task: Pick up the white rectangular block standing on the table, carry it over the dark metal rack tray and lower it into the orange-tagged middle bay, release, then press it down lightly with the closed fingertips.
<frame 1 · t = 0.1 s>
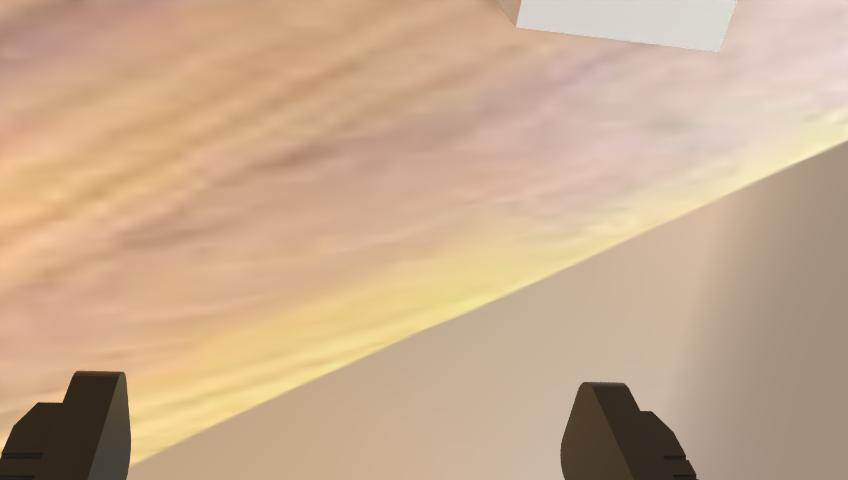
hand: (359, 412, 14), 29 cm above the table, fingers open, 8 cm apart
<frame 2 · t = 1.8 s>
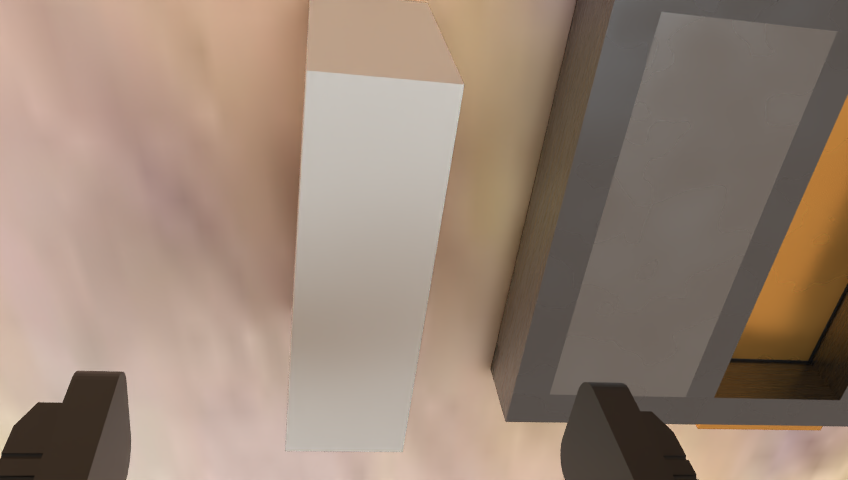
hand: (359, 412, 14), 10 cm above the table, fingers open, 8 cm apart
white rectangular block: (352, 171, 22), on the table
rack: (808, 204, 24), on the table
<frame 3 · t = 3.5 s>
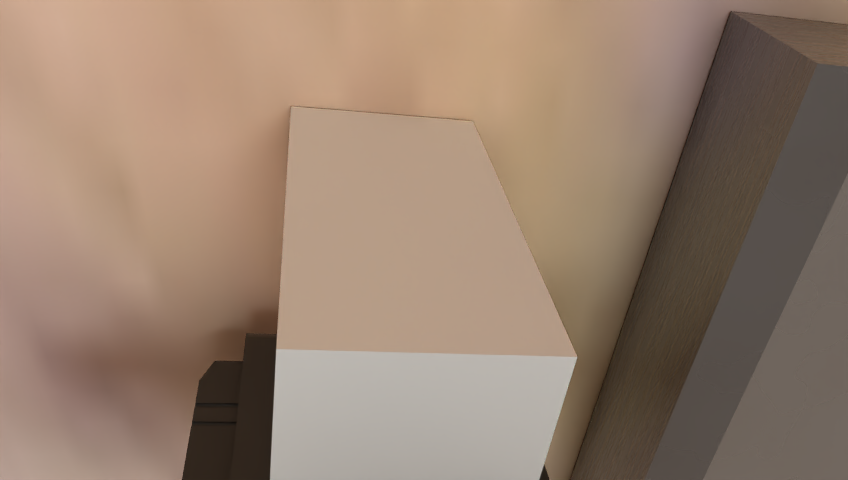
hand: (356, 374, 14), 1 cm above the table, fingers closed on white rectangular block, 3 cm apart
white rectangular block: (355, 349, 15), on the table, touching gripper
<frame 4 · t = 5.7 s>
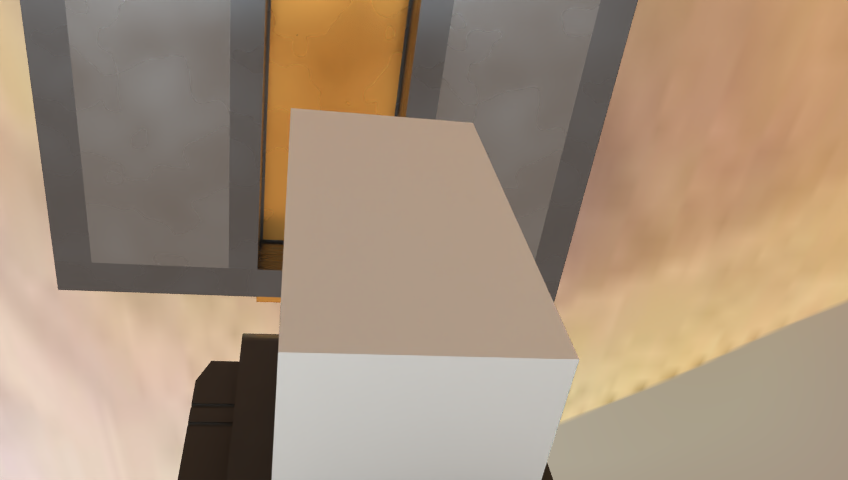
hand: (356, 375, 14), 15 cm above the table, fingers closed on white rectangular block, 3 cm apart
white rectangular block: (355, 351, 15), point 14 cm above the table, touching gripper
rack: (332, 90, 27), on the table
when the fingers open (4 cm above the table, at t = 7.9 s): white rectangular block drops 2 cm, resting on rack.
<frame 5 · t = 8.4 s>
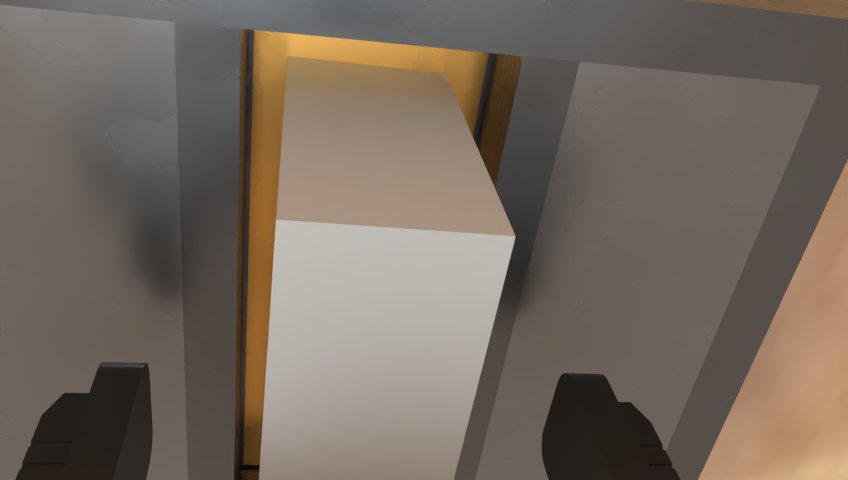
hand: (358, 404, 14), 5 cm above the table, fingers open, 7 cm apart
white rectangular block: (341, 281, 17), point 1 cm above the table, touching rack
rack: (347, 265, 18), on the table
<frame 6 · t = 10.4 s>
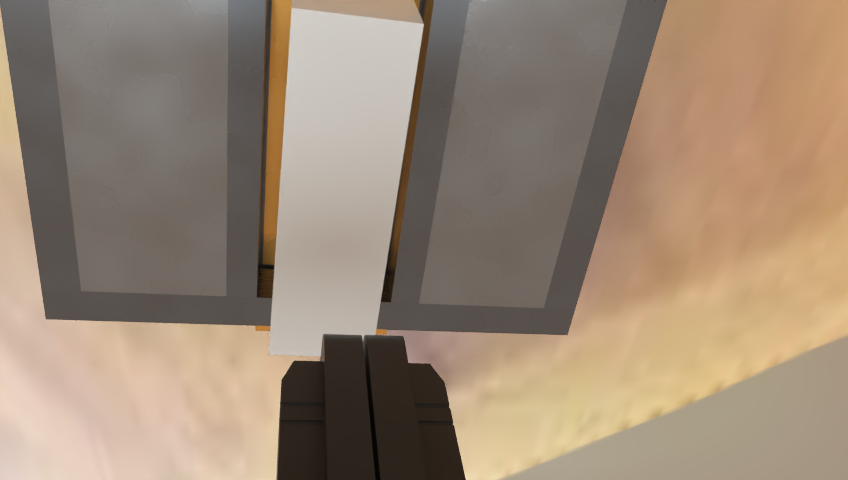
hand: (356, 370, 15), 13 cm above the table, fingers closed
white rectangular block: (331, 117, 25), point 1 cm above the table, touching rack
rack: (336, 109, 25), on the table
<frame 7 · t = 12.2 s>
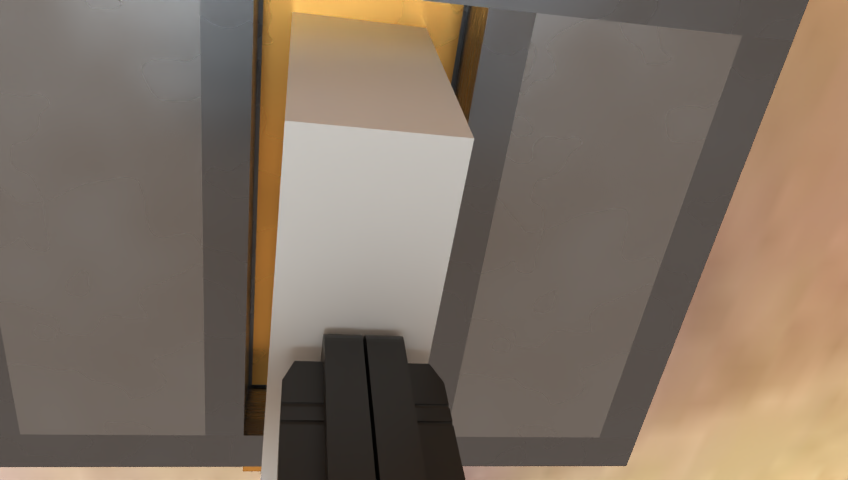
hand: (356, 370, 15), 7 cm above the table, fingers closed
white rectangular block: (338, 214, 20), point 1 cm above the table, touching gripper, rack
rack: (344, 201, 20), on the table
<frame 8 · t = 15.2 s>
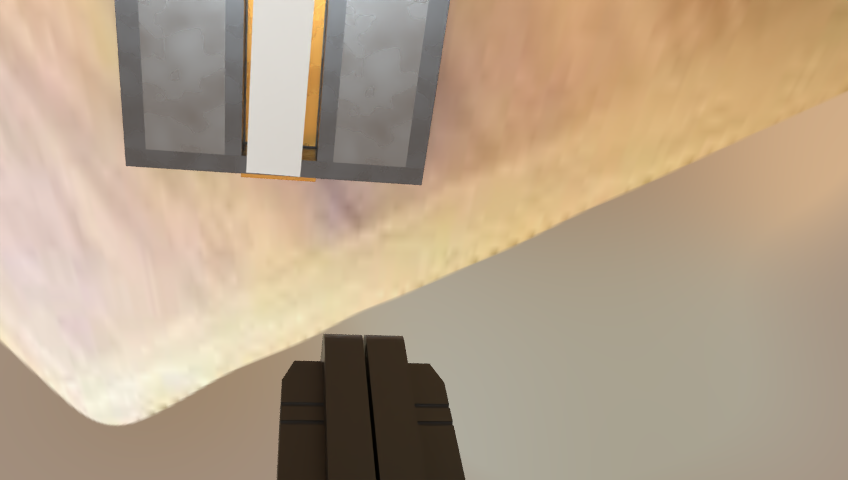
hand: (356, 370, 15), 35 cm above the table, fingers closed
white rectangular block: (281, 54, 46), point 1 cm above the table, touching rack
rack: (284, 51, 46), on the table
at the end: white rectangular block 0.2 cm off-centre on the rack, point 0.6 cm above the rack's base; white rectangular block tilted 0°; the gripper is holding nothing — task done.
